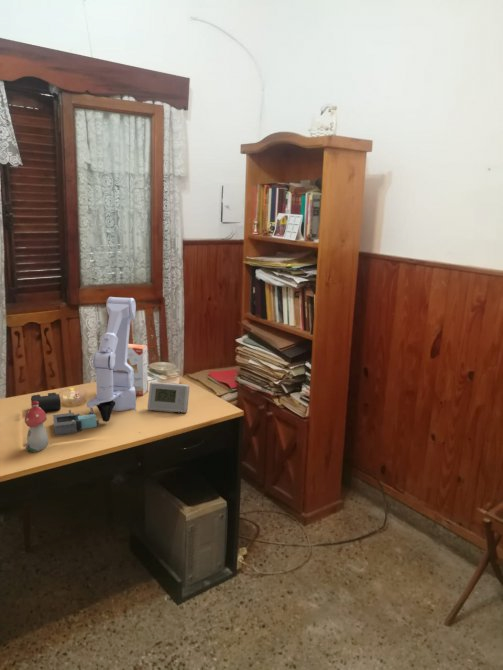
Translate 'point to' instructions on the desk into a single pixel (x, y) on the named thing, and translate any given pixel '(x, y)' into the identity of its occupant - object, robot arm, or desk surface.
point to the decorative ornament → (36, 428)
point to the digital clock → (168, 397)
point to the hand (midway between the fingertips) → (105, 420)
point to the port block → (66, 424)
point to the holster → (90, 411)
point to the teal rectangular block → (88, 421)
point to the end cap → (48, 402)
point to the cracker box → (138, 367)
